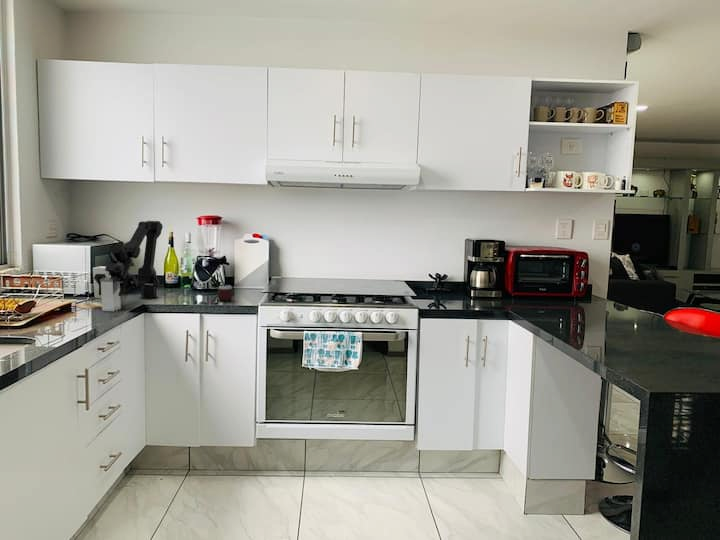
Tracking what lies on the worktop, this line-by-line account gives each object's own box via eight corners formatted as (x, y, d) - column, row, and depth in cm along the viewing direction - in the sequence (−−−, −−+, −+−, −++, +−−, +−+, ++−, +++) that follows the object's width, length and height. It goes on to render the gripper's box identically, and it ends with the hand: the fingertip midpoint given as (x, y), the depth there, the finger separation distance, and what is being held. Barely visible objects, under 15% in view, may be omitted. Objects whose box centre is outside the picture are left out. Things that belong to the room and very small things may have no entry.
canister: (109, 308, 244) (107, 277, 242) (121, 308, 243) (120, 277, 242) (101, 310, 238) (100, 279, 237) (113, 311, 238) (112, 279, 236)
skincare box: (116, 297, 275) (115, 266, 274) (107, 299, 269) (106, 267, 267) (102, 296, 277) (101, 265, 276) (93, 298, 271) (92, 267, 269)
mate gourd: (234, 302, 267) (234, 271, 265) (218, 303, 263) (217, 272, 262) (230, 299, 273) (230, 270, 272) (214, 300, 270) (214, 270, 268)
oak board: (97, 304, 258) (97, 302, 258) (110, 306, 251) (110, 304, 251) (71, 307, 248) (71, 305, 248) (85, 310, 241) (85, 308, 241)
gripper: (95, 255, 244) (80, 283, 234) (134, 257, 241) (121, 284, 231) (106, 271, 252) (92, 298, 242) (144, 272, 250) (131, 300, 240)
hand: (109, 295), depth 239 cm, fingers open, 9 cm apart
